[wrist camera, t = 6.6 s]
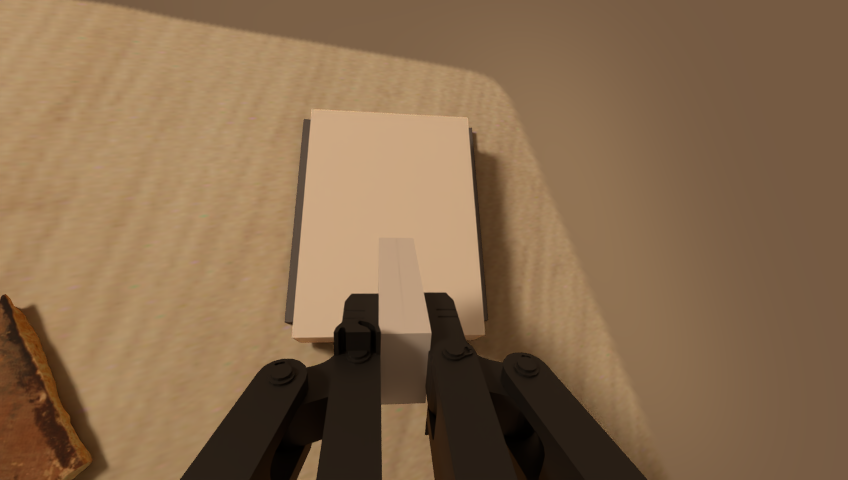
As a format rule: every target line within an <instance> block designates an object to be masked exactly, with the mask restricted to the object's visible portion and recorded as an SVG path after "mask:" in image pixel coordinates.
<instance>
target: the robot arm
mask: <svg viewBox="0 0 848 480" xmlns="http://www.w3.org/2000/svg"><path fill="white" fill-rule="evenodd" d="M426 395H427V402H428V408H427V419H426V429H425V435H429V439H430V447H431V455H432V462H433V470H434V478H435V480H647V479H646V477H645V476H644V475H643V474H642V473H641V472H640V471H639V470H638V468H637V467H636V466H635V465H634V464H633V463H632V462H631V460H630V459H629V458H628V457H627V456H626V455H625V454H624V453H623V451H622V450H621V449H620V448H619V447H618V446H617V445H616V443H615V442H614V441H613V440H612V439H611V438H610V437H609V435H608V434H607V433H606V432H605V431H604V430H603V429H602V428H601V426H600V425H599V424H598V423H597V422H596V421H595V420H594V418H593V417H592V416H591V415H590V414H589V413H588V412H587V410H586V409H585V408H584V407H583V406H582V405H581V404H580V403H579V401H578V400H577V399H576V398H575V397H574V396H573V395H572V393H571V392H570V391H569V390H568V389H567V388H566V387H565V386H564V384H563V383H562V382H561V381H560V380H559V379H558V378H557V376H556V375H555V374H554V373H553V372H552V371H551V370H550V368H549V367H548V366H547V365H546V364H545V363H544V362H543V361H541V360H540V359H539V358H537V357H535V356H533V355H531V354H527V353H513V354H510V355H508V356H507V357H506V358H505V359H504V361H503V363H502V362H497V361H492V360H488V359H485V358H482V357H480V356H478V355H477V354H476V352H475V350H474V348H473V347H472V346H471V345H469V344H468V343H467V342H466V339H465V336H464V332H463V329H462V326H461V323H460V319H459V318H458V313H457V310H456V307H455V303H454V300H453V299H452V298H451V297H450V296H449V295H448V294H447V293H446V292H424V291H423V286H422V281H421V276H420V270H419V265H418V260H417V255H416V250H415V244H414V239H413V238H379V263H378V293H372V294H351V295H350V296H349V297H348V298H347V299H346V301H345V303H344V311H343V318H342V323H340V324H339V325H338V326H337V327H336V328H335V330H334V356H332V357H331V358H330V359H329V360H327V361H325V362H324V363H321V364H318V365H315V366H311V367H307V368H306V366H305V365H304V364H303V363H302V362H300V361H298V360H295V359H280V360H276V361H273V362H271V363H269V364H267V365H265V366H264V367H263V368H262V369H261V370H260V371H259V372H258V373H257V374H256V376H255V377H254V379H253V380H252V381H251V383H250V384H249V385H248V387H247V388H246V390H245V391H244V392H243V394H242V395H241V396H240V398H239V399H238V401H237V402H236V403H235V405H234V406H233V407H232V409H231V410H230V412H229V413H228V414H227V416H226V417H225V418H224V420H223V421H222V423H221V424H220V425H219V427H218V428H217V429H216V431H215V432H214V434H213V435H212V436H211V438H210V439H209V440H208V442H207V443H206V445H205V446H204V447H203V449H202V450H201V451H200V453H199V454H198V456H197V457H196V458H195V460H194V461H193V462H192V464H191V465H190V467H189V468H188V469H187V471H186V472H185V473H184V475H183V476H182V478H181V479H180V480H297V478H298V475H299V473H300V471H301V469H302V466H303V464H304V462H305V460H306V457H307V455H308V453H309V451H310V449H311V445H312V443H313V442H316V441H319V440H322V444H321V451H320V458H319V465H318V472H317V478H316V480H382V452H381V405H382V404H410V403H425V400H426Z"/></svg>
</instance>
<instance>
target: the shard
mask: <svg viewBox="0 0 848 480" xmlns="http://www.w3.org/2000/svg"><path fill="white" fill-rule="evenodd" d="M91 463H92V458H91V455H90V452H89V451H88V450H87V449H86V448H85V446H84V445H83V443H82V442H81V441H80V440H79V438H78V436H77V434H76V432H75V431H74V429H73V427H72V425H71V424H70V416H69V414H68V413H67V412H66V411H65V410H64V408H63V407H62V404H61V401H60V399H59V397H58V392H57V387H56V383H55V380H54V378H53V376H52V372H51V369H50V367H49V366H48V363H47V358H46V355H45V353H44V352H43V350H42V345H41V343H40V339H39V337H38V336H37V334H36V332H35V331H34V329H33V327H32V326H30V324H29V323H28V321H27V318H26V316H25V315H24V314H23V313H22V312H21V311H20V310H19V309H17V308H16V307H15V306H14V305H13V303H12V301H11V299H10V298H9V297H8V296H7V295H6V294H5V295H2V297H1V299H0V480H72V479H74V478H75V477H76V476H77V475H78V474H79V473H80V472H82V471H83V470H84V469H85V468H87V467H88V466H89V465H90V464H91Z"/></svg>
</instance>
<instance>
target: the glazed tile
mask: <svg viewBox="0 0 848 480" xmlns="http://www.w3.org/2000/svg"><path fill="white" fill-rule="evenodd" d="M379 238H413V239H414V244H415V250H416V255H417V260H418V265H419V270H420V276H421V281H422V286H423V291H424V292H446V293H447V294H448V295H449V296H450V297H451V298H452V299H453V300H454V303H455V307H456V310H457V313H458V318H459V319H460V323H461V326H462V329H463V332H464V336H465V339H466V340H475V339H477V338H479V337H482V336H484V335H485V326H484V314H483V301H482V289H481V276H480V264H479V252H478V239H477V227H476V214H475V202H474V190H473V177H472V165H471V152H470V140H469V127H468V118H467V117H449V116H431V115H413V114H394V113H376V112H358V111H340V110H321V109H312V111H311V122H310V134H309V145H308V157H307V168H306V180H305V191H304V203H303V214H302V226H301V237H300V249H299V260H298V272H297V283H296V294H295V306H294V317H293V329H292V338H293V339H295V340H297V341H298V342H300V343H314V342H334V330H335V328H336V327H337V326H338V325H339V324H340V323H342V318H343V311H344V303H345V301H346V299H347V298H348V297H349V296H350V295H351V294H372V293H378V263H379Z"/></svg>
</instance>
